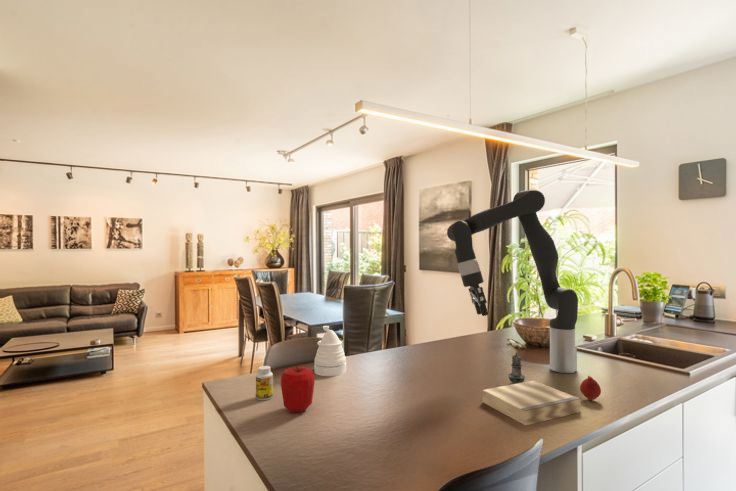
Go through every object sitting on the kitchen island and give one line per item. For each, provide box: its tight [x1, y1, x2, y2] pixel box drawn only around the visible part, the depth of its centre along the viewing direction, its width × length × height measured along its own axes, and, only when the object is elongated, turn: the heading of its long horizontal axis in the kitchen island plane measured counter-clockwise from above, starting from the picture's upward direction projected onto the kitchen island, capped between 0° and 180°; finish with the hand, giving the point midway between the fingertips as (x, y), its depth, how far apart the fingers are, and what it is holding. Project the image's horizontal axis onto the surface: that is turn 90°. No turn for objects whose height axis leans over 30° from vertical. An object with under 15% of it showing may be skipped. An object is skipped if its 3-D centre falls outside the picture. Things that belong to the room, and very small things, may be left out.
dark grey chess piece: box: [507, 352, 526, 385], centre depth 142 cm, size 6×6×12 cm
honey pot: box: [313, 325, 347, 377], centre depth 160 cm, size 13×13×18 cm
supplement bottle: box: [255, 365, 274, 401], centre depth 132 cm, size 6×6×10 cm
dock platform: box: [482, 379, 581, 426], centre depth 124 cm, size 22×18×4 cm
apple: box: [280, 366, 315, 413], centre depth 123 cm, size 10×10×14 cm
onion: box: [579, 375, 602, 402], centre depth 129 cm, size 6×6×8 cm
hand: (482, 314), depth 147 cm, fingers open, 8 cm apart
